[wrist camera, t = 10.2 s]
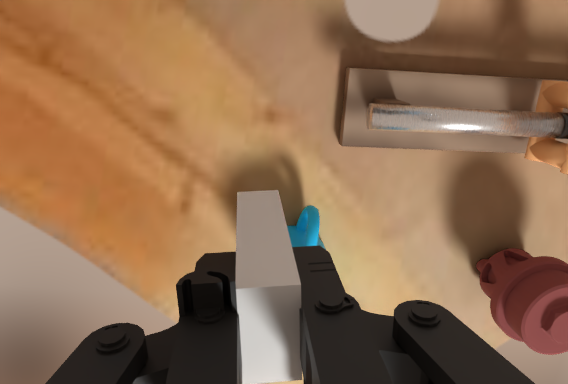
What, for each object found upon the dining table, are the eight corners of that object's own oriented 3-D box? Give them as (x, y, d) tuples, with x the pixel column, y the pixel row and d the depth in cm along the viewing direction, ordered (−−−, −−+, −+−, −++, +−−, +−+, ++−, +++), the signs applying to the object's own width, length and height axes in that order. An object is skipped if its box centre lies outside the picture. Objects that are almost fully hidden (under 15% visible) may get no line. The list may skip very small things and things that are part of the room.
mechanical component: (519, 308, 58) (449, 296, 56) (551, 239, 55) (478, 224, 53) (590, 375, 46) (504, 361, 45) (634, 291, 43) (545, 274, 42)
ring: (537, 79, 45) (596, 86, 38) (559, 80, 46) (622, 87, 38) (519, 155, 48) (572, 176, 40) (540, 156, 48) (596, 177, 41)
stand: (346, 67, 46) (360, 70, 41) (627, 83, 50) (675, 88, 44) (339, 143, 49) (351, 155, 43) (607, 153, 52) (650, 166, 47)
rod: (364, 127, 42) (371, 132, 40) (367, 101, 42) (375, 104, 39) (649, 140, 46) (671, 145, 43) (657, 115, 45) (680, 119, 42)
